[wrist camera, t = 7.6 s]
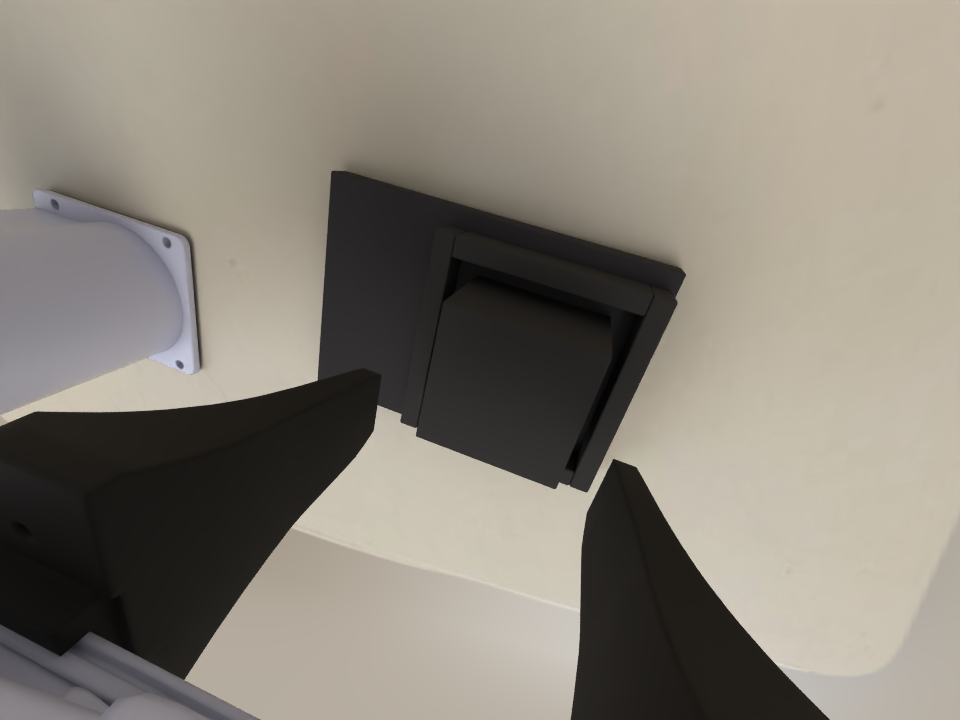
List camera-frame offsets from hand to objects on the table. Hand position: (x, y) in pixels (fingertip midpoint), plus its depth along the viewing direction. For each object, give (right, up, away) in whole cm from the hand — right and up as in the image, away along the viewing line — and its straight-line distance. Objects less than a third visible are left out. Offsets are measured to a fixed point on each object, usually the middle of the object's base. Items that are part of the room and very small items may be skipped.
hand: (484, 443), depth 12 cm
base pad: (0, +4, +7) cm, 8 cm away
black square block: (+2, +2, +6) cm, 6 cm away
